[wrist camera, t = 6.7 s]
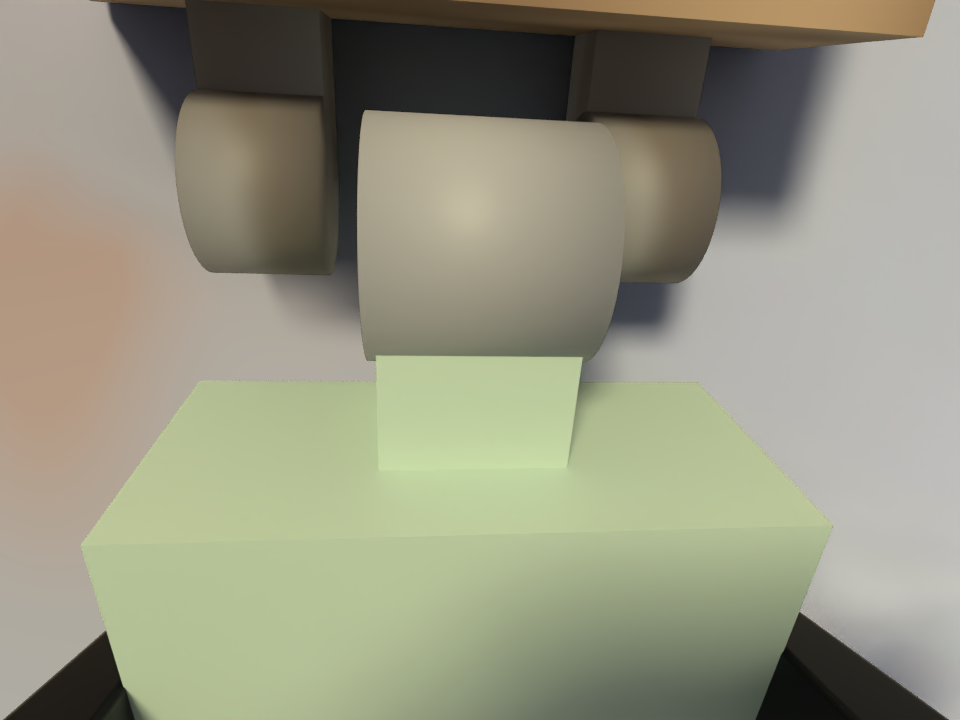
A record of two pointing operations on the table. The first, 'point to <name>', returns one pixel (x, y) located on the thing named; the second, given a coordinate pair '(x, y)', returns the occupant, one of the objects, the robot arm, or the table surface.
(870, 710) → the robot arm
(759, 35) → the hinge base
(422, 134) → the hinge leaf
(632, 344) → the table surface
